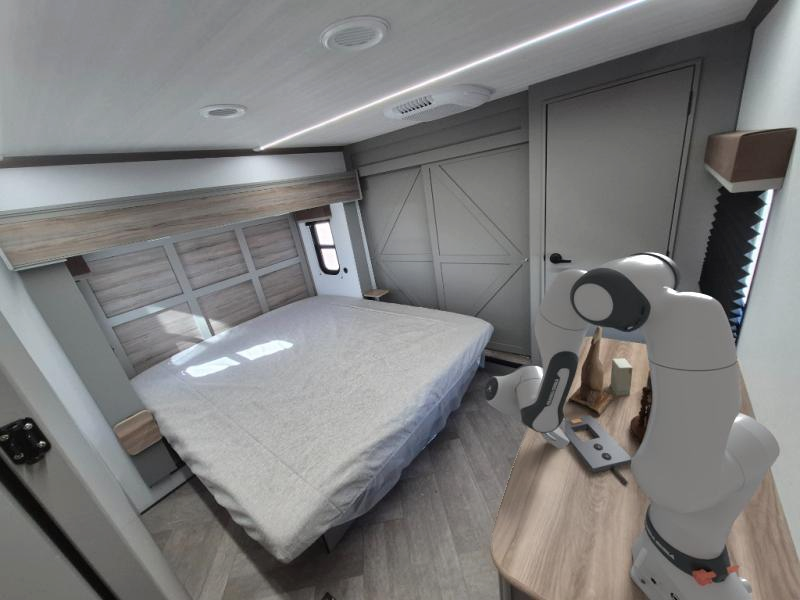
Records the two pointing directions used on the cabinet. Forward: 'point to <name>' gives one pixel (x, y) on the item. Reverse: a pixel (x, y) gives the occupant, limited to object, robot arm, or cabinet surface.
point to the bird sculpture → (593, 378)
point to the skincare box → (621, 376)
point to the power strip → (596, 447)
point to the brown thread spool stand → (642, 416)
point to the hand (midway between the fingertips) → (557, 427)
